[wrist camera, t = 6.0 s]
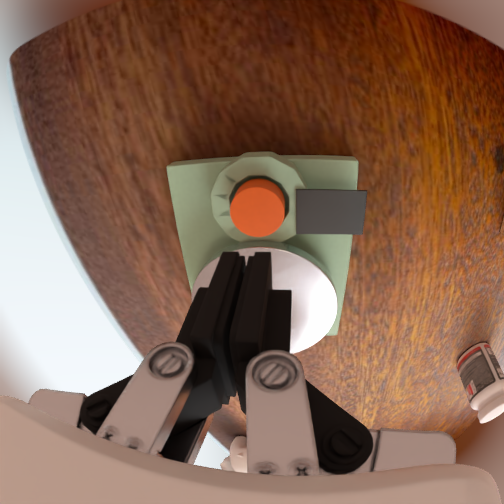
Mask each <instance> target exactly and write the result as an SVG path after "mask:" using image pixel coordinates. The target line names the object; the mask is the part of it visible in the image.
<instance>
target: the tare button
mask: <svg viewBox="0 0 504 504" xmlns="http://www.w3.org/2000/svg"><path fill="white" fill-rule="evenodd" d="M284 215H285V199H284V195H283V193H282V191H281V189H280V188H279V187H278V186H277V185H276V184H275V183H273V182H271V181H269V180H266V179H260V178H257V179H251V180H249V181H247V182H245V183H243V184H242V185H241V186H240V187H239V188H238V190H237V192H236V194H235V196H234V198H233V200H232V202H231V205H230V216H231V219H232V222H233V223H234V225H235V226H236V227H237V228H238V229H239V230H240V231H241V232H243V233H244V234H246V235H249V236H253V237H264V236H268V235H270V234H272V233H274V232H275V231H276V230H277V229H278V228H279V227H280V226H281V224H282V222H283V220H284Z"/></svg>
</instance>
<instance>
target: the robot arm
mask: <svg viewBox="0 0 504 504" xmlns="http://www.w3.org/2000/svg"><path fill="white" fill-rule="evenodd" d="M291 309H292V290H276V289H272V257H271V252H255V254H254V256H249V257H248V261H247V265H246V261H245V256H240V254H239V252H233V251H223V252H222V254H221V256H220V259H219V261H218V264H217V266H216V269H215V271H214V274H213V276H212V279H211V282H210V284H209V287H200V288H199V289H198V290H197V292H196V295H195V297H194V299H193V302H192V304H191V306H190V309H189V311H188V313H187V316H186V318H185V321H184V323H183V325H182V328H181V330H180V333H179V335H178V337H177V340H176V342H166V343H162V344H160V345H157V346H156V347H154V348H153V349H151V350H150V352H149V353H148V354H147V355H146V357H145V358H144V360H143V361H142V363H141V364H140V366H139V367H138V369H137V370H136V372H135V373H134V374H133V375H131V376H129V377H127V378H125V379H123V380H121V381H119V382H117V383H114V384H112V385H110V386H109V387H106V388H104V389H102V390H99V391H97V392H95V393H93V394H91V395H90V396H88V397H87V396H86V395H85V394H83V393H72V392H64V391H56V390H48V389H40V390H39V391H36V392H35V393H34V394H33V395H32V397H31V398H30V400H29V403H25V402H24V401H21V400H18V399H16V398H13V397H9V396H2V395H0V504H502V502H501V498H500V493H499V490H498V487H497V485H496V483H495V481H494V479H493V478H492V476H491V475H490V474H489V473H488V472H486V471H485V470H483V469H480V468H477V467H474V466H469V465H462V464H455V461H456V445H455V441H454V440H453V438H452V436H450V435H449V434H447V433H446V432H442V431H421V430H403V429H390V428H381V429H380V430H374V429H367V428H366V427H365V426H364V425H363V424H362V423H360V422H359V421H358V420H356V419H355V418H354V417H352V416H351V415H350V414H349V413H347V412H346V411H345V410H343V409H342V408H341V407H339V406H338V405H337V404H336V403H334V402H333V401H332V400H330V399H329V398H328V397H327V396H325V395H324V394H323V393H322V392H320V391H319V390H318V389H317V388H315V387H314V386H313V385H312V384H310V383H309V382H308V381H307V380H306V379H305V376H304V370H303V367H302V364H301V362H300V361H299V360H298V358H297V357H296V356H294V355H293V354H291V353H290V338H291ZM237 392H238V396H239V401H240V405H241V410H242V411H243V412H244V413H245V415H246V432H247V473H243V472H235V471H227V470H220V469H214V468H208V467H202V466H197V465H193V464H194V462H195V459H196V457H197V455H198V453H199V450H200V448H201V445H202V443H203V441H204V439H205V436H206V434H207V432H208V429H209V427H210V425H211V422H212V420H213V416H214V412H216V411H217V410H219V409H221V407H222V404H227V405H228V404H229V400H230V396H232V397H235V396H236V393H237Z"/></svg>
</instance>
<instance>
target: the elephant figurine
mask: <svg viewBox="0 0 504 504" xmlns="http://www.w3.org/2000/svg"><path fill="white" fill-rule="evenodd" d="M221 468H222V470H227V471H235V472H243V473H247V438H246V437H243V436H237V437H235V439H234V440H233V442H232V444H231V446H230V456H228V457H227V458H225V459H224V461H223V462H222V463H221Z"/></svg>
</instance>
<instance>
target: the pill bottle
mask: <svg viewBox="0 0 504 504" xmlns="http://www.w3.org/2000/svg"><path fill="white" fill-rule="evenodd" d="M457 369H458V372H459V375H460V377H461V380H462V383H463V385H464V388H465V391H466V394H467V397H468V400H469V403H470V405H471V407H472V408H473V409H474V410H478V411H479V413H478V418H479V421H480V423H485V422H488V421H490V420H492V419H494V418H495V417H497V416H499V415H500V414H501V413H503V412H504V374H503V372H502V370H501V368H500V366H499V363H498V361H497V359H496V357H495V355H494V353H493V351H492V349H491V347H490V345H489V344H487V343H479V344H477V345H475V346H473V347H471V348H470V349H468V350H467V351H466V352H465V353H464V354H463V355H462V356H461V357H460V359H459V360H458V363H457Z"/></svg>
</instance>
